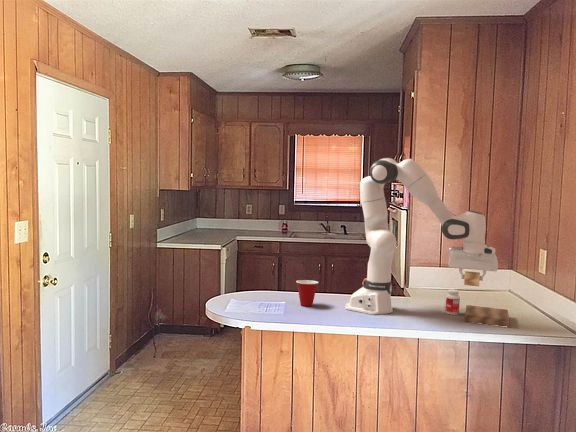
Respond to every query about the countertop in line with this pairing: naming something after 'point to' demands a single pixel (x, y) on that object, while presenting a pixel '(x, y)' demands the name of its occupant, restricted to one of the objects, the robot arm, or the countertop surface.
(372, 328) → the countertop surface
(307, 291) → the plastic cup
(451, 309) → the pill bottle
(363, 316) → the countertop surface
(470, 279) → the oak block
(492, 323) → the walnut block
